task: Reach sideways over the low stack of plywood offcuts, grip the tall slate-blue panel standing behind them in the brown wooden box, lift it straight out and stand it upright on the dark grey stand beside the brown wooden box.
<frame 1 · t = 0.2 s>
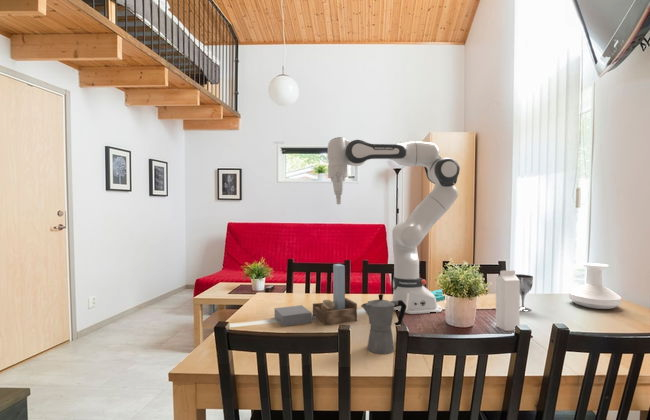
hand: (338, 204, 171), 47 cm above the table, tool pointing down, fingers open, 8 cm apart
wine glass: (522, 309, 169), on the table
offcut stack: (328, 319, 155), resting in brown wooden box
brown wooden box: (339, 317, 157), on the table
milk: (507, 328, 143), on the table
alien figure: (448, 298, 191), on the table
stand: (292, 320, 154), on the table
coffeepot: (383, 349, 123), on the table
candle holder: (594, 306, 175), on the table
panel: (339, 317, 157), resting in brown wooden box
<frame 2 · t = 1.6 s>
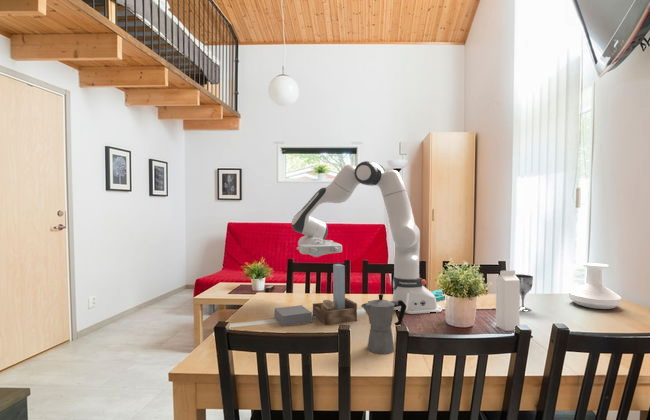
hand: (327, 250, 168), 27 cm above the table, tool horizontal, fingers open, 8 cm apart
nothing on the table moved.
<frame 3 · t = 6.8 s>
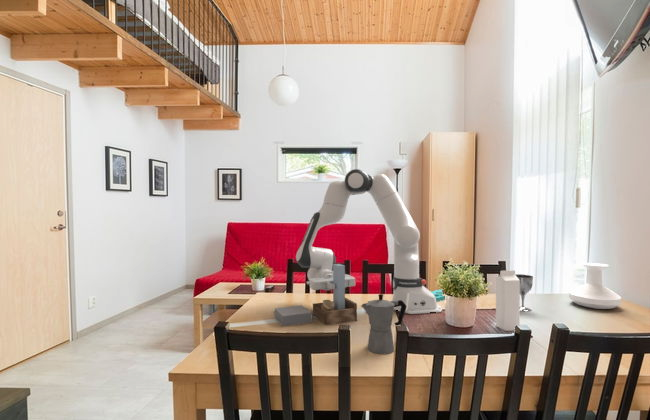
hand: (339, 286, 156), 13 cm above the table, tool horizontal, fingers closed on panel, 3 cm apart
panel: (339, 317, 157), resting in brown wooden box, touching gripper
everything else where it was.
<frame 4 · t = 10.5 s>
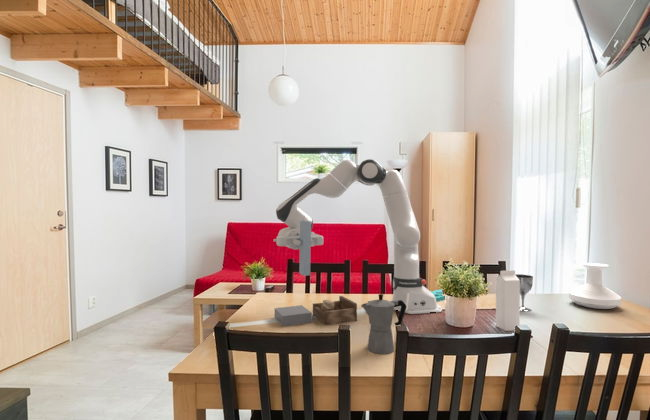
hand: (305, 242, 154), 32 cm above the table, tool horizontal, fingers closed on panel, 3 cm apart
panel: (304, 274, 155), point 19 cm above the table, touching gripper
everything else where it was.
when the fingers open (19 cm above the table, at t = 14.1 s): panel drops 1 cm, resting on stand.
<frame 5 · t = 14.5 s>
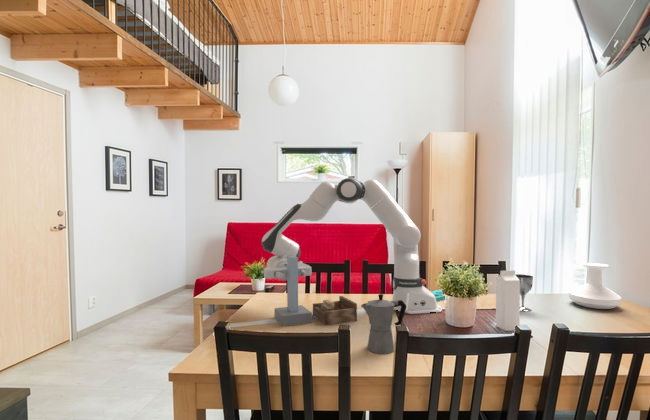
hand: (293, 274, 153), 19 cm above the table, tool horizontal, fingers open, 7 cm apart
panel: (292, 310, 154), point 4 cm above the table, touching stand
everything else where it was.
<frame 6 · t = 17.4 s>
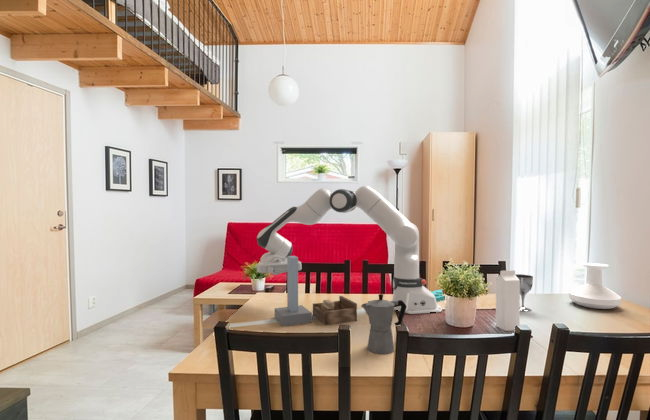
hand: (284, 269, 164), 19 cm above the table, tool horizontal, fingers open, 8 cm apart
nothing on the table moved.
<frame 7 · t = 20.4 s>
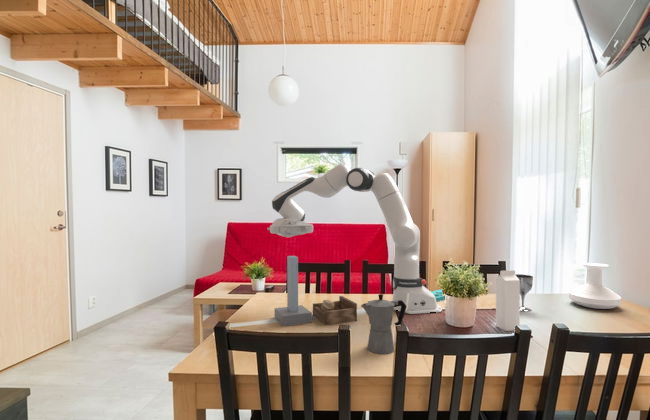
hand: (296, 229, 168), 36 cm above the table, tool horizontal, fingers open, 8 cm apart
nothing on the table moved.
at the end: panel inside the target area on the stand (0.0 cm from its centre), point 4.0 cm above the stand's base; panel tilted 0°; the gripper is holding nothing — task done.
